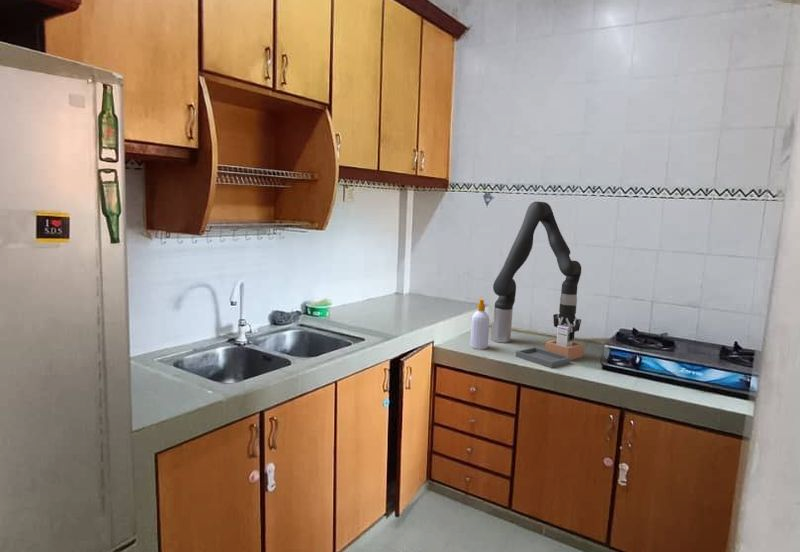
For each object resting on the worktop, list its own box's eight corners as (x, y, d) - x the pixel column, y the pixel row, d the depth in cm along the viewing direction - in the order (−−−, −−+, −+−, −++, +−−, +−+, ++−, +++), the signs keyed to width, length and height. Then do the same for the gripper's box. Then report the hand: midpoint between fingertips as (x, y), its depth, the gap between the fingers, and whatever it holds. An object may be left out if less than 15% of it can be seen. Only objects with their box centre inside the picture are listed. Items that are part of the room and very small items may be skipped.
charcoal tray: (515, 356, 244) (515, 351, 243) (534, 352, 252) (534, 346, 252) (551, 368, 228) (551, 362, 228) (570, 363, 237) (570, 357, 236)
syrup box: (565, 357, 244) (568, 327, 242) (555, 354, 249) (557, 325, 247) (572, 356, 248) (575, 326, 246) (561, 352, 253) (564, 323, 250)
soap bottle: (487, 344, 263) (489, 298, 259) (488, 349, 253) (491, 301, 250) (469, 343, 263) (472, 297, 260) (470, 348, 254) (473, 300, 251)
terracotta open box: (544, 354, 249) (545, 341, 249) (560, 350, 257) (561, 338, 256) (567, 360, 240) (568, 348, 239) (582, 356, 247) (583, 344, 247)
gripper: (550, 301, 248) (547, 335, 251) (577, 306, 237) (574, 342, 239) (559, 299, 253) (557, 333, 255) (586, 305, 242) (583, 340, 244)
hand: (565, 337), depth 247 cm, fingers closed on syrup box, 6 cm apart
